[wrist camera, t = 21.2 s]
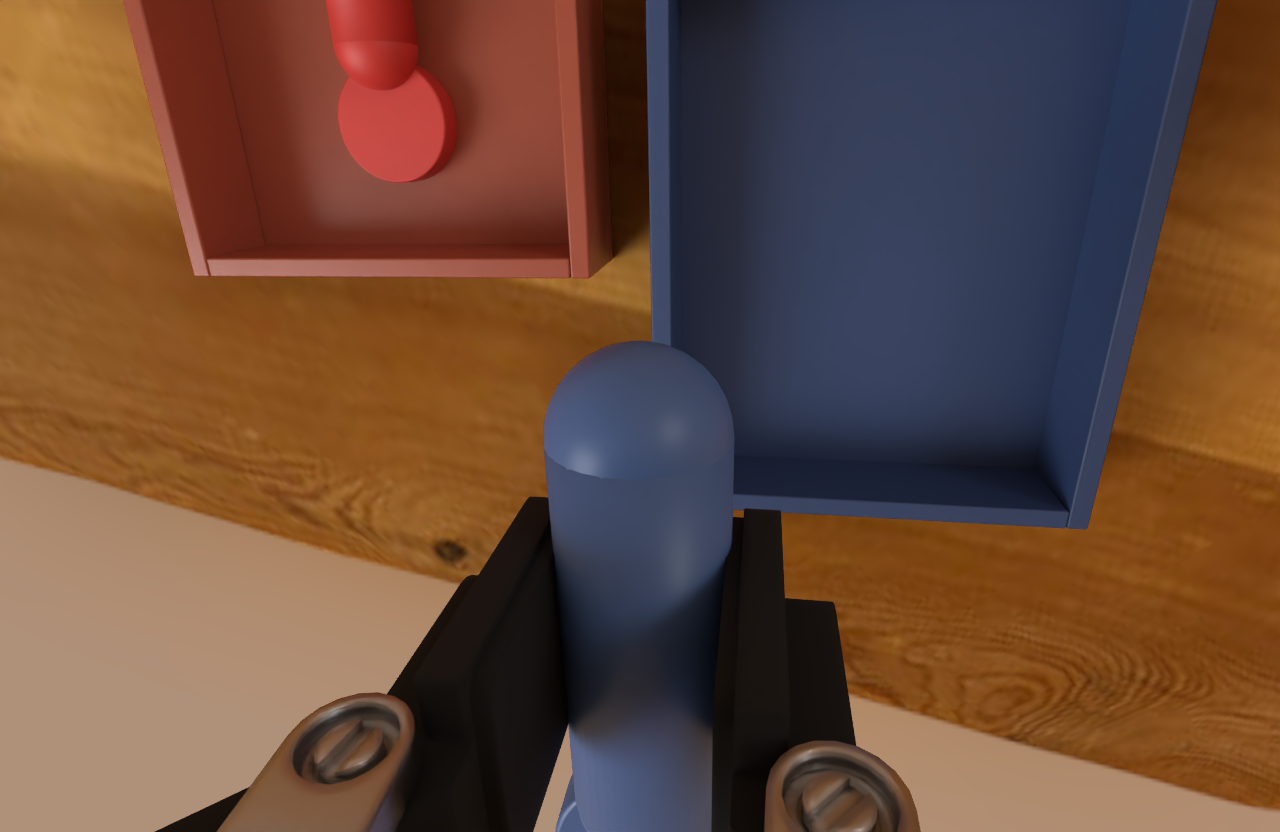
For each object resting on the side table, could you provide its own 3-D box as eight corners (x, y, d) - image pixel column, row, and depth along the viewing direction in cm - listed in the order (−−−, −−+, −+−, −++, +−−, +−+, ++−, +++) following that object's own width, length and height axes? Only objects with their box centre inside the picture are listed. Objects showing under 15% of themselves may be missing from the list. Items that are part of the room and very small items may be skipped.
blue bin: (667, 460, 26) (654, 505, 23) (662, -43, 20) (644, -78, 17) (1044, 478, 24) (1088, 530, 21) (1162, -77, 18) (1249, -122, 15)
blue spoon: (523, 318, 10) (453, 372, 8) (785, 321, 9) (792, 381, 7) (574, 862, 14) (539, 999, 12) (756, 887, 13) (756, 1037, 11)
